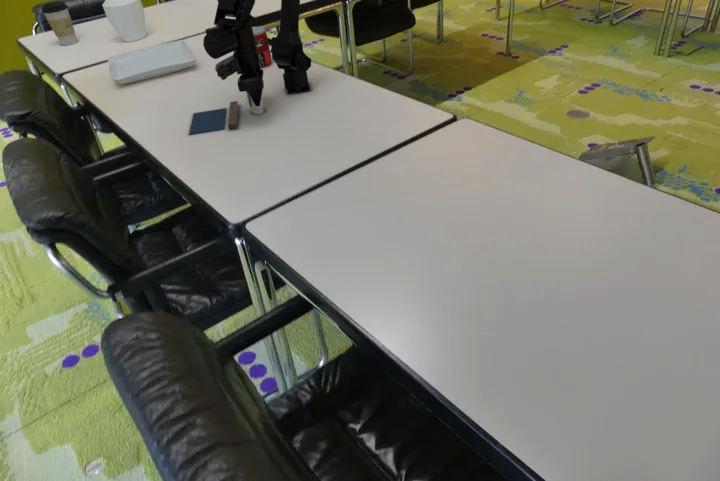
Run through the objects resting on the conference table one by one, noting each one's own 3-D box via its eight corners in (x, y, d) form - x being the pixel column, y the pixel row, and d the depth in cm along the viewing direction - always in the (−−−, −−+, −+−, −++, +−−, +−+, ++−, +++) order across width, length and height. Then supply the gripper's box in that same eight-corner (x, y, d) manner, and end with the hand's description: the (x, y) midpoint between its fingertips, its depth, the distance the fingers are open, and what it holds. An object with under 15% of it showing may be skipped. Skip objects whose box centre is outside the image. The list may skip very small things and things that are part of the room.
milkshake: (266, 115, 142) (258, 79, 136) (247, 115, 143) (238, 80, 137) (271, 108, 146) (264, 72, 139) (253, 108, 147) (245, 73, 140)
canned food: (244, 68, 173) (236, 34, 166) (256, 59, 178) (249, 26, 172) (264, 69, 170) (256, 34, 163) (276, 60, 176) (269, 26, 169)
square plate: (185, 48, 196) (182, 38, 194) (200, 69, 176) (197, 58, 174) (110, 66, 188) (105, 55, 186) (117, 90, 168) (112, 79, 166)
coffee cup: (86, 40, 219) (71, 1, 210) (65, 47, 213) (48, 8, 203) (73, 38, 223) (56, 0, 214) (52, 45, 217) (34, 7, 208)
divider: (238, 105, 149) (237, 100, 148) (237, 128, 137) (235, 123, 136) (231, 106, 149) (230, 101, 148) (229, 130, 137) (228, 124, 136)
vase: (142, 30, 221) (119, -35, 206) (158, 35, 213) (136, -33, 197) (110, 41, 214) (84, -27, 198) (126, 46, 206) (100, -23, 190)
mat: (226, 109, 148) (225, 108, 148) (223, 129, 138) (223, 128, 138) (194, 114, 148) (193, 113, 147) (189, 134, 137) (189, 133, 137)
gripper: (214, 38, 140) (229, 94, 150) (210, 62, 126) (226, 122, 135) (256, 32, 141) (268, 88, 150) (256, 55, 126) (269, 115, 136)
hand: (257, 102), depth 143 cm, fingers closed on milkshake, 4 cm apart
